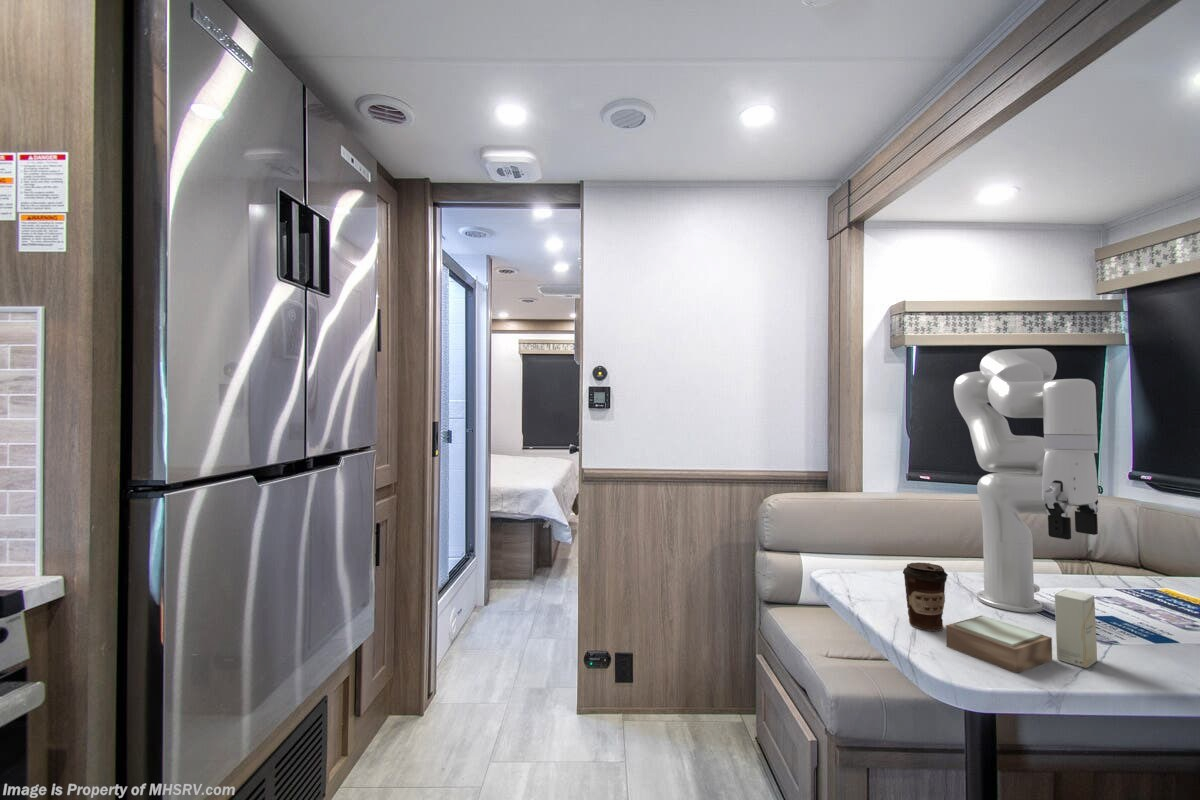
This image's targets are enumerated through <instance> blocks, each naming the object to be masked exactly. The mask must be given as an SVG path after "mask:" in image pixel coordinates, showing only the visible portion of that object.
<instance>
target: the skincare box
mask: <svg viewBox="0 0 1200 800" xmlns="http://www.w3.org/2000/svg"><path fill="white" fill-rule="evenodd" d="M1054 607H1055V608H1054V612H1055V613H1054V615H1055V635H1056V636H1055V637H1056V638H1055V639H1056V659H1057V661H1060V662H1061V661H1062V662H1064V663H1067V664H1071V665H1073V666H1076V667H1081V668H1085V669H1088V668H1089V667H1091V666H1092V665H1093V664H1094V663H1096V662H1097V661H1098V650H1097V649H1098V648H1097V645H1098V644H1097V643H1098V642H1097V626H1096V625H1097V623H1096V606H1095V595H1094V594H1091V593H1086V592H1085V593H1084V592H1080V591H1075V590H1071V589H1067V588H1065V589H1063V590H1061V591H1059V592H1057V593H1055V594H1054Z"/></svg>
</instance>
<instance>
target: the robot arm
mask: <svg viewBox="0 0 1200 800" xmlns="http://www.w3.org/2000/svg"><path fill="white" fill-rule="evenodd" d="M1057 366H1058V365H1057V361H1056V358H1055V356H1054V355H1053V353H1052V352H1050V351H1048V350H1047V349H1044V348H1015V349H1014V348H1012V349H1009V348H1008V349H999V350H994V351H990V352H989V353H987V354H986V355H985V356H983V357H982V359H981V361H980V363H979V370H978V371H977V370H976V371H970V372H966V373H962V374H961V375H959V376H957V378H955V381H954V384H953V397H954V402H955V406H956V407H957V409H958V411H959V413H960V415H961V417H962V418H963V420H964V421H965V423H966V425H967V427H968V429H969V434H970V439H971V442H972V446H973V450H974V454H975V457H976V462H977V464H978V466H979V467H980V468H981V469H982V470H983V471H986V472H989V473H988V474H986V475H983V476H981V478H979V479H978V482H977V488H976V491H977V497H978V501H979V505H980V512H981V521H982V541H983V542H982V543H983V544H982V547H983V548H982V549H983V552H982V553H983V581H984V582H983V583H984V584H983V586H984V587H983V589H984V590H981V591H978V592H976V598H977V600H978V601H979V602H980V603H982V604H985V605H987V606H990V607H993V608H996V609H999V610H1000V609H1001V610H1005V611H1011V612H1014V613H1015V612H1016V613H1026V614H1027V613H1030V614H1031V613H1039V612H1042V611H1043V609H1044V607H1043V603H1042V602H1041V601H1039V600H1038V599H1035V594H1036V593H1038V592H1040V591H1041V588H1040V586H1039V585H1038V584H1036V583H1035V582H1034V579H1035V578H1034V577H1035V576H1034V553H1033V552H1034V549H1033V547H1034V546H1033V543H1034V542H1033V534H1032V531H1031V529H1030V527H1029V526H1028V525H1027V524H1026V523H1025V522H1024V520H1022V519H1021V517H1020V516H1019V515H1021V514H1024V515H1025V514H1028V515H1029V514H1030V515H1031V514H1033V515H1047V529H1048V530H1047V531H1048V532H1047V533H1048V536H1049V537H1050V538H1055V539H1060V540H1061V539H1063V540H1071V539H1072V519H1071V517H1069V514H1070V511H1071V508H1072V507H1075V508H1076V510H1075V511H1074V527H1075V528H1074V530H1075V532H1076V533H1081V534H1086V535H1092V536H1094V535H1095V536H1096V535H1098V534H1099V531H1098V529H1099V526H1098V513H1099V512H1098V511H1099V508H1098V503H1099V499H1098V496H1099V491H1100V490H1099V488H1098V487H1099V484H1098V473H1097V472H1098V471H1097V464H1096V457H1095V454H1098V453H1099V447H1098V446H1099V445H1098V444H1099V443H1098V442H1099V441H1098V419H1097V418H1098V417H1097V391H1096V385H1095V383H1094V382H1093V381H1092V380H1090V379H1086V378H1063V379H1054V377H1055V375H1056V373H1057V369H1058V368H1057ZM988 403H990V405H989V404H988ZM1006 417H1007V418H1013V419H1034V418H1035V419H1042V420H1043V437H1041V436H1036V435H1015V434H1013V433H1012V431H1011V429H1010V426H1009V422H1008V419H1006Z"/></svg>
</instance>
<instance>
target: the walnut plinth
mask: <svg viewBox="0 0 1200 800" xmlns="http://www.w3.org/2000/svg"><path fill="white" fill-rule="evenodd" d="M945 635H946V636H945V638H946V639H945V640H946V641H945V643H946V644H945V646H946V647H947V648H950V649H953V650H955V651H958V652H960V653H963V654H965V655H968V656H971V657H974V658H975V659H978V660H981V661H983V662H986V663H988V664H990V665H994V666H996V667H998V668H1002V669H1004V670H1006V671H1009V672H1011V673H1014V674H1018V673H1021V672H1025V671H1026V670H1029V669H1031V668H1034V667H1037V666H1039V665H1042V664H1045V663H1047V662H1050V661H1052V660H1053V644H1052V643H1053V639H1052V638H1053V637H1051V636H1048V635H1045V634H1042V633H1039V632H1035V631H1033V630H1029V629H1026V628H1024V627H1020V626H1017V625H1014V624H1011V623H1008V622H1004V621H1001V620H998V619H995V618H992V617H989V616H986V615H979V616H975V617H972V618H971V617H970V618H968V619H964V620H960V621H958V622H953V623H949V624H946V625H945Z"/></svg>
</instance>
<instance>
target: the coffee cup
mask: <svg viewBox="0 0 1200 800" xmlns="http://www.w3.org/2000/svg"><path fill="white" fill-rule="evenodd" d="M902 573H903V575H904V577H903V578H904V587H905V596H906V606H907V614H908V622H909V624H910V626H912V627H914V628H917V629H920V630H925V631H933V632H934V631H935V632H936V631H942V630H944V628H945V627H944V624H943V614H944V607H945V602H946V593H945V587H946V582H947V579H948V578H947V577H948V575H949V574H948V572H946V571H945V568H944V567H943V566H941V565H939V564H933V563H930V562H928V563H927V562H911V563H906V567H904V569H903V571H902Z"/></svg>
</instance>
